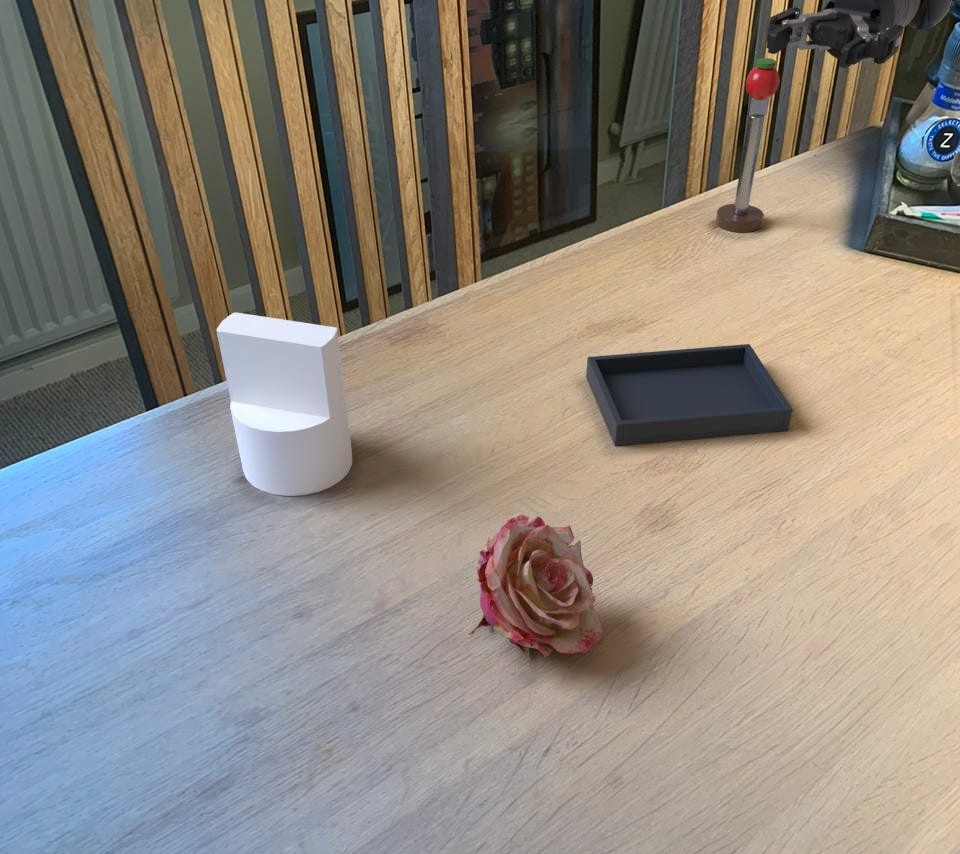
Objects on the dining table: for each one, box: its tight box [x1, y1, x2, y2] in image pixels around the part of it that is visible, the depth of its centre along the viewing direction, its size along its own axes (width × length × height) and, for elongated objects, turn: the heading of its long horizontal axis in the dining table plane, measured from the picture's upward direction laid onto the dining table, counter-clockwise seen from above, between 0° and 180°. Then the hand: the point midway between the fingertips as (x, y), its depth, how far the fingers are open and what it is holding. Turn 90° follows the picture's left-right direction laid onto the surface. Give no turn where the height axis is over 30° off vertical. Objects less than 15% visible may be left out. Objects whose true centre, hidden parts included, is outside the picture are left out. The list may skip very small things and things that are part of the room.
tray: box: [585, 343, 794, 447], centre depth 90 cm, size 15×11×2 cm
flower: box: [468, 514, 604, 668], centre depth 68 cm, size 10×9×8 cm
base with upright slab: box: [216, 311, 353, 497], centre depth 81 cm, size 9×9×12 cm
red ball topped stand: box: [715, 57, 781, 233], centre depth 112 cm, size 5×5×17 cm
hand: (807, 50), depth 113 cm, fingers open, 8 cm apart
